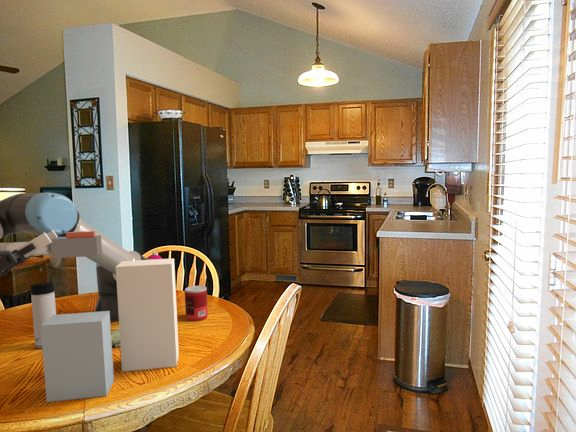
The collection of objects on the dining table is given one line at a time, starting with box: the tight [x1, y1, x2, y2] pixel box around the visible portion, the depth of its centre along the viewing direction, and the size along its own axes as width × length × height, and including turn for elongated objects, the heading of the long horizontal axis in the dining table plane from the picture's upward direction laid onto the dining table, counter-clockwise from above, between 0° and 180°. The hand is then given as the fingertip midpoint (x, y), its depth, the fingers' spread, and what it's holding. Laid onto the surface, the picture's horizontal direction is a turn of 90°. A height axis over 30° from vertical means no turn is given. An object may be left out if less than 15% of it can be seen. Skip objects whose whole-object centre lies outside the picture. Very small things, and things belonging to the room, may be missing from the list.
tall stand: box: [116, 257, 180, 372], centre depth 120 cm, size 8×14×28 cm, turn 100°
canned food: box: [184, 285, 209, 322], centre depth 159 cm, size 8×8×11 cm
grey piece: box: [0, 231, 102, 259], centre depth 103 cm, size 4×22×6 cm, turn 99°
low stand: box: [41, 311, 115, 403], centre depth 105 cm, size 8×13×18 cm, turn 100°
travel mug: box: [30, 281, 57, 350], centre depth 135 cm, size 6×7×20 cm
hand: (51, 236), depth 103 cm, fingers closed on grey piece, 4 cm apart
